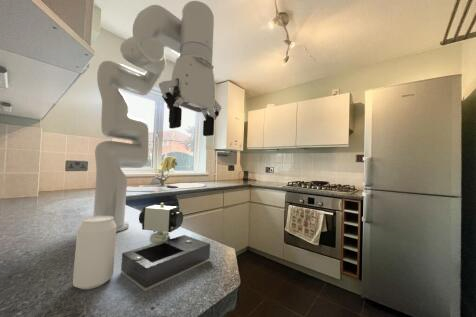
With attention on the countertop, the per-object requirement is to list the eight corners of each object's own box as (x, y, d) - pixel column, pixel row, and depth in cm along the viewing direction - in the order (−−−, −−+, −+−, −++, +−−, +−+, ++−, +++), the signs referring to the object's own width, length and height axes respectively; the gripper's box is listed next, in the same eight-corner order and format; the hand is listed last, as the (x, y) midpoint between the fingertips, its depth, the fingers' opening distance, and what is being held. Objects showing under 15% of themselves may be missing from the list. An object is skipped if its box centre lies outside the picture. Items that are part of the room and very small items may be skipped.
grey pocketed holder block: (120, 272, 41) (122, 251, 41) (183, 249, 54) (184, 234, 54) (145, 291, 35) (146, 267, 35) (209, 260, 48) (210, 243, 48)
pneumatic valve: (174, 250, 53) (176, 205, 54) (136, 246, 55) (139, 203, 56) (183, 243, 58) (185, 202, 59) (149, 239, 61) (151, 200, 62)
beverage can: (62, 290, 34) (68, 221, 35) (93, 272, 41) (97, 214, 41) (94, 294, 34) (99, 223, 34) (120, 275, 40) (124, 215, 41)
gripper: (210, 79, 55) (208, 139, 54) (152, 46, 41) (147, 126, 40) (231, 71, 51) (229, 136, 49) (174, 31, 37) (169, 121, 35)
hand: (192, 131), depth 45 cm, fingers open, 9 cm apart
